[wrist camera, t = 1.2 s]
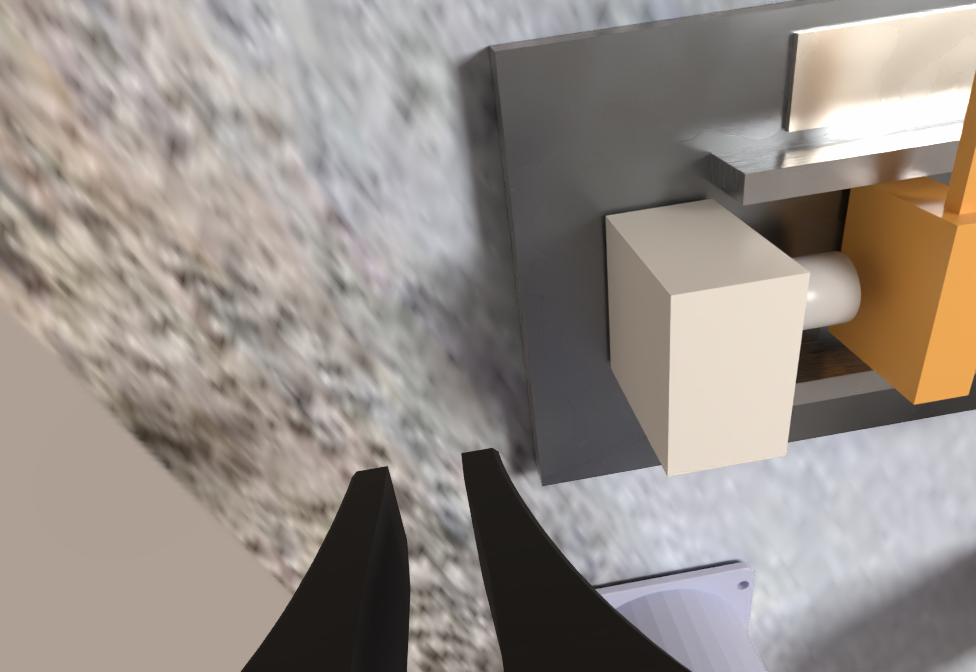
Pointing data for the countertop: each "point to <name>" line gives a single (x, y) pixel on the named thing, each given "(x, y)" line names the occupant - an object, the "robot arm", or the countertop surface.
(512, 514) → the robot arm
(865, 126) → the base
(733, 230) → the cream block with peg
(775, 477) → the countertop surface
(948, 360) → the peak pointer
